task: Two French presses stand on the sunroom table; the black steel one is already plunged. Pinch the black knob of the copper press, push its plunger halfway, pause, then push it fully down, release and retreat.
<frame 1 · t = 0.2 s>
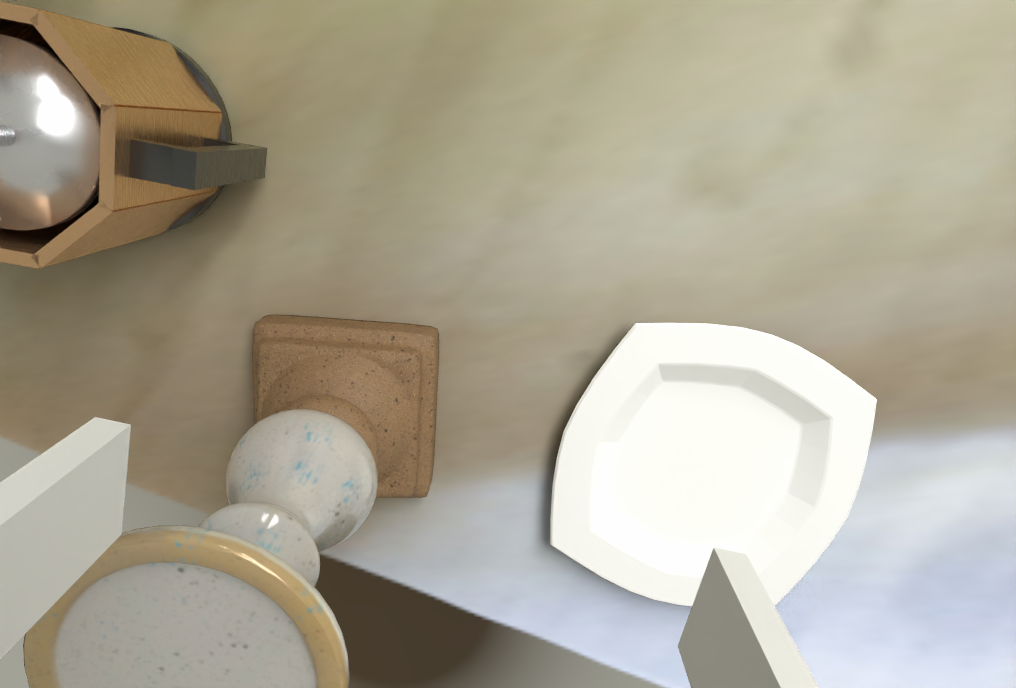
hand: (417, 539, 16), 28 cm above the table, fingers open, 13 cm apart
candle holder: (350, 401, 45), on the table
plate: (700, 460, 47), on the table
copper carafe: (135, 134, 41), on the table
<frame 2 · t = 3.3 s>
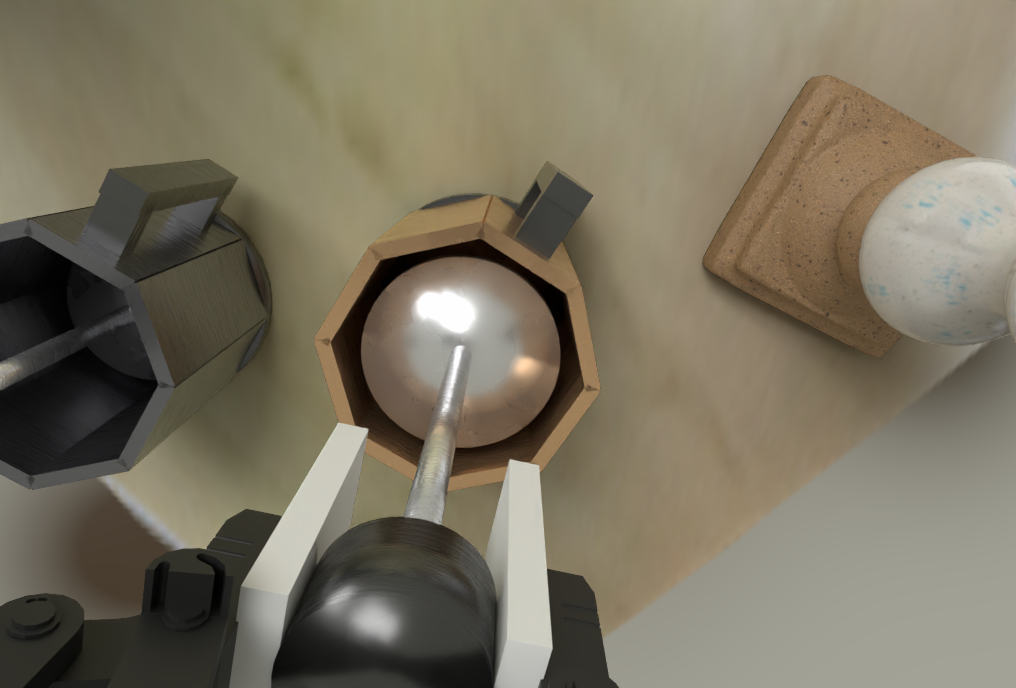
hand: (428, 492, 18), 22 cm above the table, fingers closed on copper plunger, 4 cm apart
candle holder: (838, 219, 38), on the table
steel plunger: (39, 357, 28), point 11 cm above the table, slide at 8.0 cm
copper plunger: (439, 447, 20), point 19 cm above the table, slide at 0.0 cm, touching gripper
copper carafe: (474, 295, 39), on the table
steel carafe: (171, 293, 39), on the table
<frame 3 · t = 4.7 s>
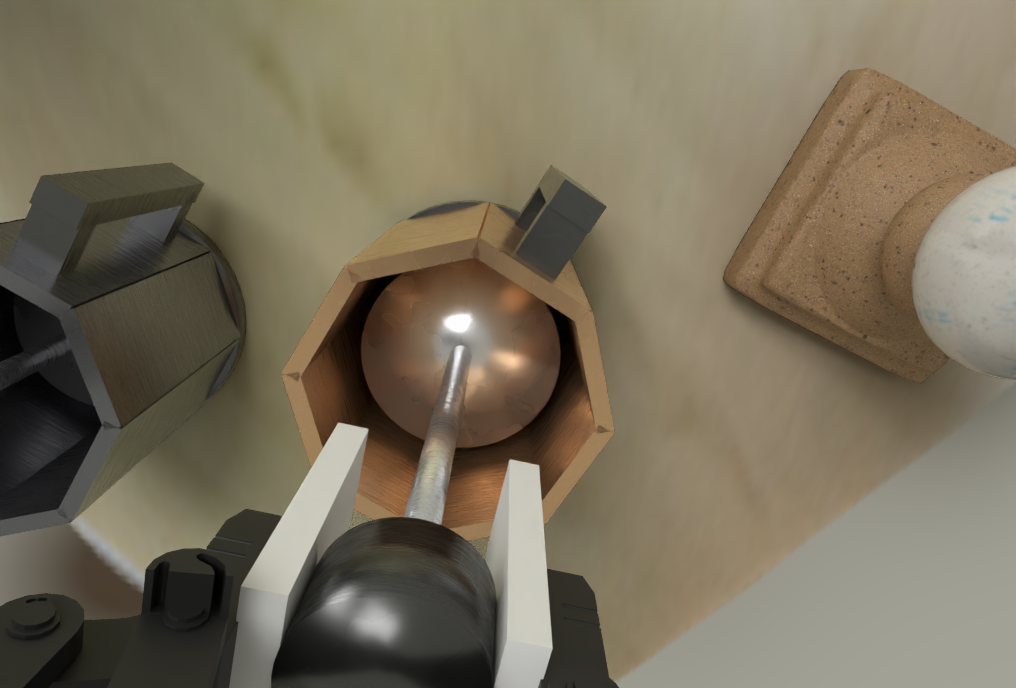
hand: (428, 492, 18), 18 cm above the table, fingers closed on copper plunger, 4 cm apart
candle holder: (874, 229, 34), on the table
copper plunger: (439, 447, 20), point 15 cm above the table, slide at 4.0 cm, touching gripper
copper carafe: (470, 313, 35), on the table
steel carafe: (134, 311, 35), on the table
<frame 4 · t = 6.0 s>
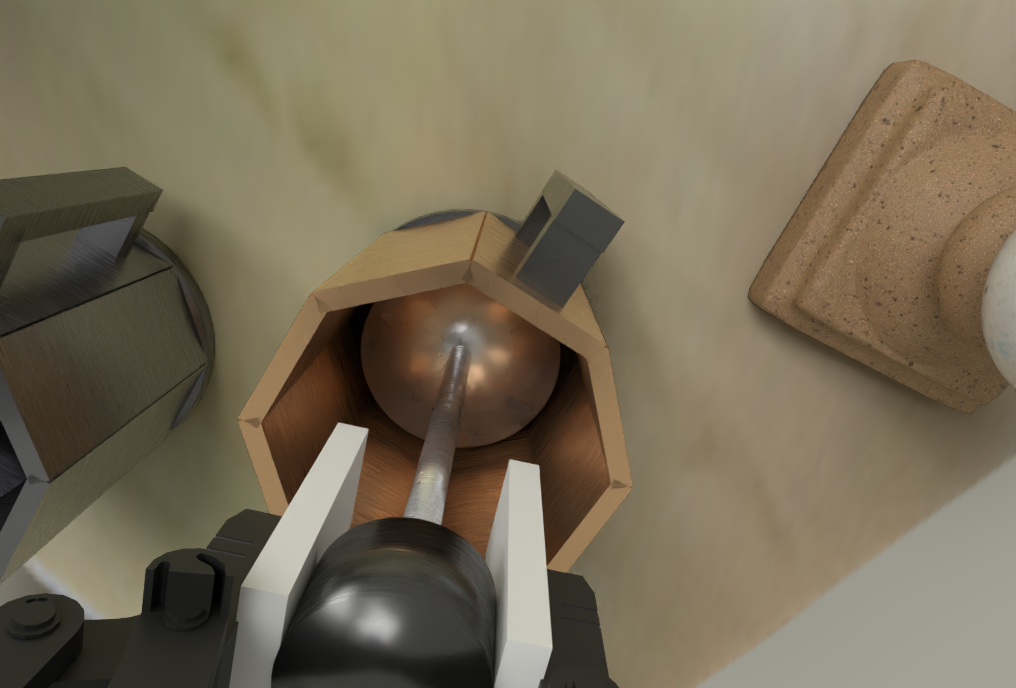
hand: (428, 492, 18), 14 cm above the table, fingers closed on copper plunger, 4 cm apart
candle holder: (918, 242, 30), on the table
copper plunger: (439, 446, 20), point 12 cm above the table, slide at 7.9 cm, touching gripper
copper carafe: (465, 335, 31), on the table
steel carafe: (90, 332, 32), on the table
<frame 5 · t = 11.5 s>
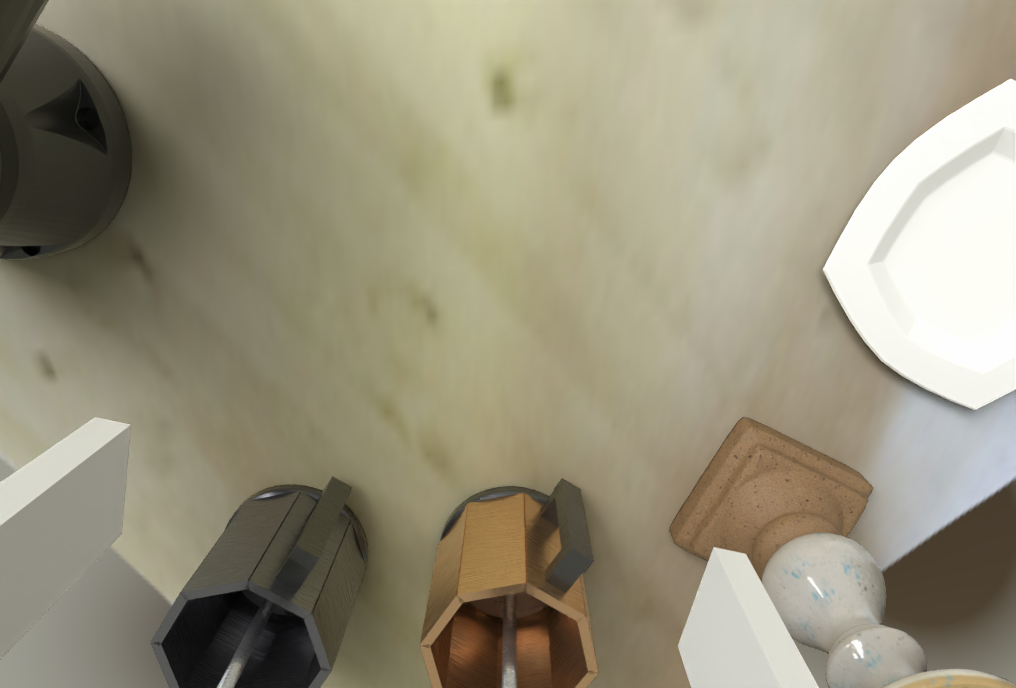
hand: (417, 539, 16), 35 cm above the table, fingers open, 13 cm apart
candle holder: (763, 502, 55), on the table
steel plunger: (244, 649, 45), point 11 cm above the table, slide at 8.0 cm
plate: (972, 250, 49), on the table
copper plunger: (509, 653, 45), point 11 cm above the table, slide at 7.9 cm
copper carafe: (510, 549, 56), on the table
steel carafe: (297, 547, 56), on the table
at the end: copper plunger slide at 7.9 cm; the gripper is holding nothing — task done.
